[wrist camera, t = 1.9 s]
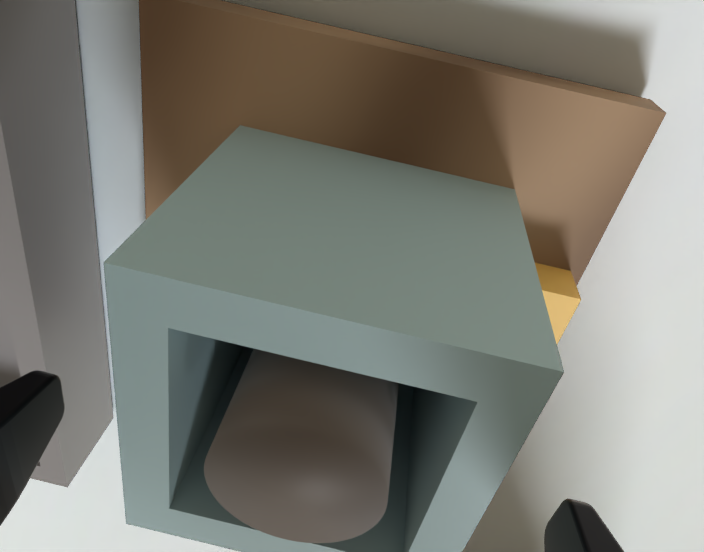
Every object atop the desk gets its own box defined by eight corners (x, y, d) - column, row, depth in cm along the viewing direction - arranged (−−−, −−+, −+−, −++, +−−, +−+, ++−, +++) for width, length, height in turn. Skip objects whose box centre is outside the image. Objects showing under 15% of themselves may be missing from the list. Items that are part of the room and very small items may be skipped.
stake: (650, 99, 12) (882, 298, 6) (487, 429, 18) (510, 698, 12) (159, -14, 12) (-149, 57, 6) (164, 352, 18) (17, 578, 12)
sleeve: (601, 209, 12) (710, 406, 7) (504, 401, 16) (533, 622, 11) (240, 125, 12) (103, 262, 7) (224, 335, 16) (126, 523, 11)
